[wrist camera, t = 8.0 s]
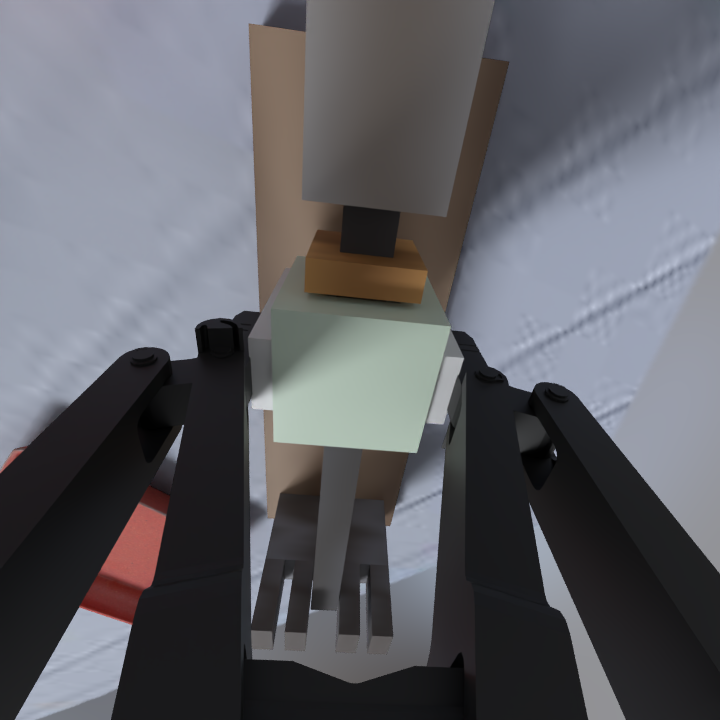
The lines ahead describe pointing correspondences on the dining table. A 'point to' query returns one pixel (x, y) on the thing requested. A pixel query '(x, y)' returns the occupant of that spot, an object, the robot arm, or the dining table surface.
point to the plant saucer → (127, 558)
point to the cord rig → (359, 252)
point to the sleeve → (353, 367)
